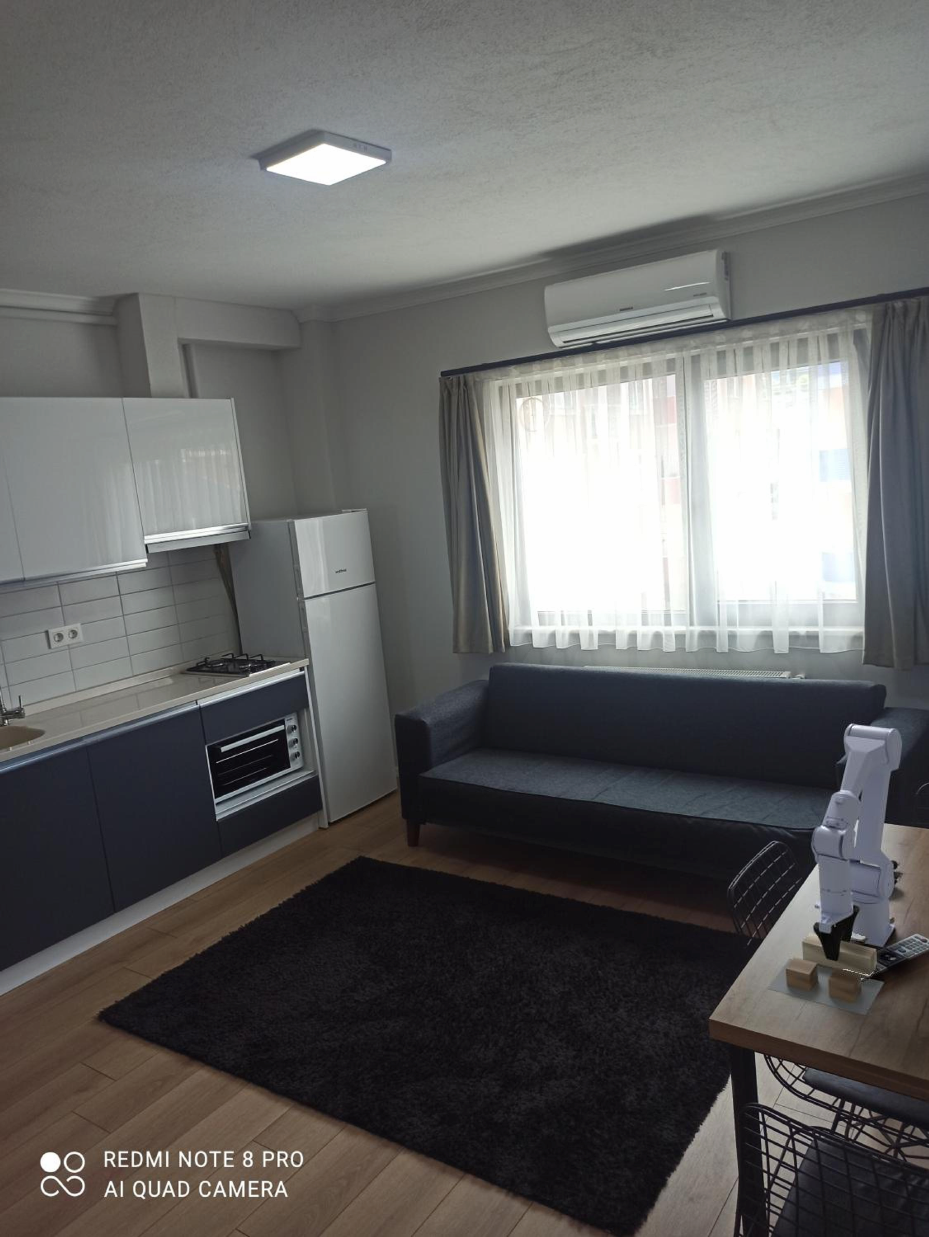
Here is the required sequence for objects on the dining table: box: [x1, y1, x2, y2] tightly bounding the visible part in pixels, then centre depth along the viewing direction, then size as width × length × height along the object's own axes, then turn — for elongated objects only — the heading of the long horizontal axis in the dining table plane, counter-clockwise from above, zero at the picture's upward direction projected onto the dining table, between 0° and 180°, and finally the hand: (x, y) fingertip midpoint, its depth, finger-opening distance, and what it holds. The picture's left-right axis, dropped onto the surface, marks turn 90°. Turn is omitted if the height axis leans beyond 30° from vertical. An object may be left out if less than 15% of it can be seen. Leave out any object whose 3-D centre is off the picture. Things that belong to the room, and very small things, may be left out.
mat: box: [767, 958, 885, 1016], centre depth 176 cm, size 12×18×1 cm, turn 51°
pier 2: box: [828, 968, 862, 1003], centre depth 172 cm, size 4×4×4 cm
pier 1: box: [786, 957, 818, 991], centre depth 177 cm, size 4×4×4 cm
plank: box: [801, 932, 878, 975], centre depth 182 cm, size 4×13×4 cm, turn 49°
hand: (838, 950), depth 182 cm, fingers open, 7 cm apart
